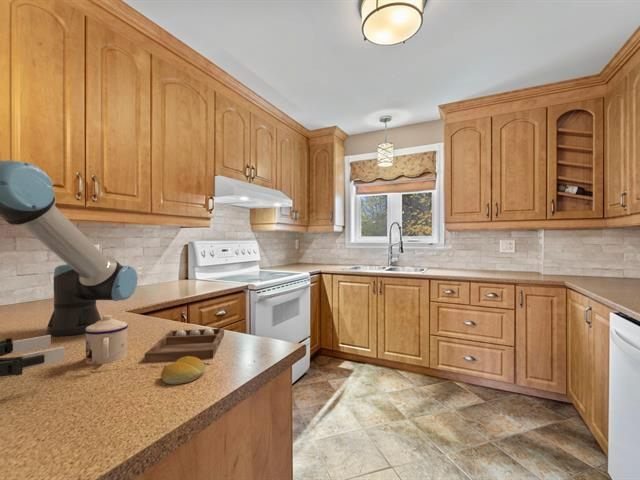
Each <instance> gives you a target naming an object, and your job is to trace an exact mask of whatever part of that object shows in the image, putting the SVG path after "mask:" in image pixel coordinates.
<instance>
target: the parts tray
mask: <svg viewBox="0 0 640 480" xmlns="http://www.w3.org/2000/svg"><path fill="white" fill-rule="evenodd" d="M196 329H197V328H196ZM206 329H207V328H199V329H197V330H199V331H200V335H190V332H191V331H192V330H193V329H183V330H184V331H185V332H186V336H175V334H176V332H177V331H179V330H180V329H178V330H169V331H168V332H167V333H166V334H165V335H164V336H163V337H162V338H160V339H159V340H158V341H157V342H156V343H155V344H154V345H153V346H151V347H150V349H148V350H147V351H146V352H145V353H144V363H155V362H156V363H157V362H172V361H174V362H175V361H177V360H178V359H179V358H182V357H186V356H191V357H196V358H198V359H200V360H205V359H214V358H215V356H216V354H217V352H218V349H219V347H220V345H221V343H222V340H223V338H224V336H225V328H224V327H221V328H211V329H212V330H213V331H214V334H210V335H204V331H205V330H206Z"/></svg>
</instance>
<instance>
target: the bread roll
mask: <svg viewBox="0 0 640 480" xmlns="http://www.w3.org/2000/svg"><path fill="white" fill-rule="evenodd" d="M205 371H206V366H205V364H204V362H203V361H202V359H198V358H196V357H191V356H186V357H182V358H179V359H178V360H175V361H174V362H172V363H169V364H167V365H166V366H165V367H164V368H163V369H162V371H161V373H160V379H161V380H162V381H163V382H164V383H165V384H167V385H180V384H187V383H191V382H193V381H196V380H198V379H199V378H200V376H202V375H203V374H204V373H205Z"/></svg>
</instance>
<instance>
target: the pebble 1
mask: <svg viewBox="0 0 640 480" xmlns="http://www.w3.org/2000/svg"><path fill="white" fill-rule="evenodd" d="M178 330H179V331H177V332H176V334H175V336H186V332H185V331H184V330H185V329H178Z"/></svg>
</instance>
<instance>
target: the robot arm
mask: <svg viewBox="0 0 640 480" xmlns="http://www.w3.org/2000/svg"><path fill="white" fill-rule="evenodd" d="M53 186H54V183H53V181H52V180H51V177H50V176H49V175H48V174H47V173H46V172H45V171H44V170H42V169H41V168H40V167H39V166H36V165H34V164H32V163H29V162H25V161H20V160H19V161H15V160H10V159H9V160H0V218H2V220H4V221H5V222H6V223H7V224H9V225H11V226H20V227H21V226H22V227H23V228H24V229H25V230H27V231H28V232H29V233H30V234H31V235H33V236H34V237H35V238H36V239H37V240H38V241H40V242H41V243H42V244H43V245H44V246H45V247H46V248H48V249H49V250H50V251H51V252H52V253H53V254H54V255H56V256H57V257H58V258H59V259H61V260H62V261H63V262H64V263H66V264H60V265H57V266H56V267H55V268H54V273H53V278H52V280H53V312H52V314H51V316H50V318H49V321H48V324H47V325H46V335H42V336H36V337H31V338H30V337H29V338H24V339H17V340H13V338H12V337H8V338H5V339H3V340H1V341H0V378H2V377H8V376H17V377H18V376H20V375H22V374H23V370H26V369H32V368H36V367H39V366H44V365H48V364H54V363H58V362H62V361H65V348H66V347H65V346H59V347H54V348H51V347H52V346H51V345H52V344H51V343H52V342H51V341H52V336H53V337H62V336H74V335H80V334H81V335H82V334H86V333H85V329H86V328H87V327H88V326H90V325H93V324H95V323H96V322H98V321H100V320H102V316H101V315H100V312H99V309H98V308H97V301H113V302H118V301H126V300H128V299H129V298H131V297H132V296H133V294H134V293H135V291H136V288H137V285H138V279H139V278H138V273H137V270H136V269H135V268H134V267H132V266H130V265H122V264H120V263H119V261H117V260H116V259H115V258H114V257H113V256H110V255H104V254H103V253H102V252H101V251H100V249H99V248H97V247H96V246H95V244H93V242H91V240H89V238H87V236H85V234H83V233H82V232H81V230H79V228H77V226H76V225H74V223H73V222H71V220H69V218H68V217H66V215H64V214H63V212H61V211H60V209H59V208H58V207H57V206H56V203H57V198H56V196H55V189H54V188H53ZM46 348H49V349H46ZM40 349H45V350H40ZM36 350H39V351H36ZM30 351H31V352H30ZM32 351H34V352H32ZM26 352H29V353H26ZM20 353H23V354H21V356H11V357H9V356H8V357H3V356H6V355H9V354H12V355H15V354H20ZM24 353H25V354H24Z"/></svg>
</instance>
